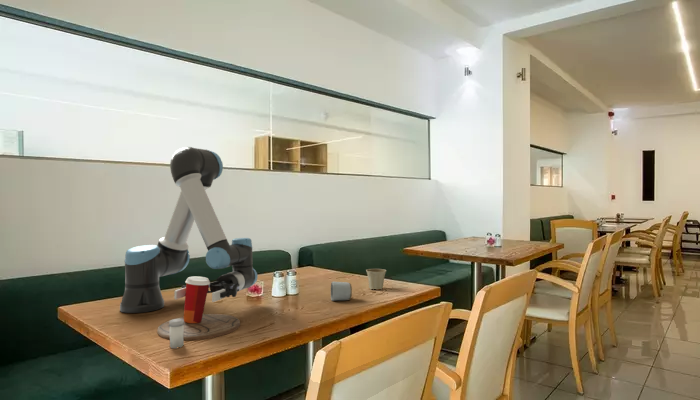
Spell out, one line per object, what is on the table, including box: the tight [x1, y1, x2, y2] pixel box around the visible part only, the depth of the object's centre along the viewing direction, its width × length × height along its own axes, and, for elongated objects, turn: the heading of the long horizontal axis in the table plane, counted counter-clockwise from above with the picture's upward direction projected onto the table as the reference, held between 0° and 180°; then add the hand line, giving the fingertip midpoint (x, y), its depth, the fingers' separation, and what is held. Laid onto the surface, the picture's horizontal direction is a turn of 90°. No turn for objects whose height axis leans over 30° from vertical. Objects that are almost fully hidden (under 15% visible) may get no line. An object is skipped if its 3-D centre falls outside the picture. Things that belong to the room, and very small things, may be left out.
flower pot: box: [365, 268, 387, 290], centre depth 197 cm, size 9×9×9 cm
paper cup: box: [183, 275, 211, 323], centre depth 140 cm, size 8×8×14 cm
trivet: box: [156, 313, 241, 341], centre depth 138 cm, size 25×25×2 cm
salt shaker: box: [168, 318, 185, 349], centre depth 120 cm, size 4×4×7 cm
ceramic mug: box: [330, 281, 353, 302], centre depth 177 cm, size 11×8×8 cm
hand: (193, 296), depth 135 cm, fingers open, 13 cm apart
